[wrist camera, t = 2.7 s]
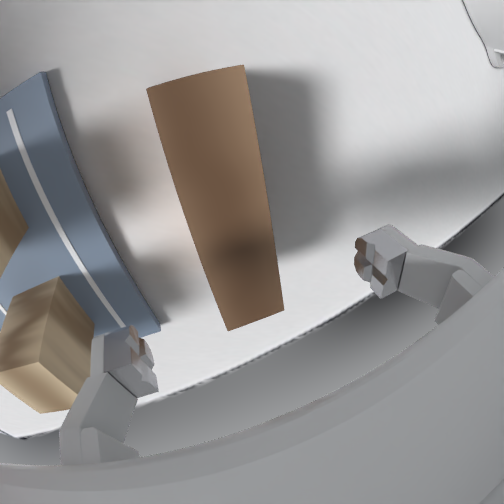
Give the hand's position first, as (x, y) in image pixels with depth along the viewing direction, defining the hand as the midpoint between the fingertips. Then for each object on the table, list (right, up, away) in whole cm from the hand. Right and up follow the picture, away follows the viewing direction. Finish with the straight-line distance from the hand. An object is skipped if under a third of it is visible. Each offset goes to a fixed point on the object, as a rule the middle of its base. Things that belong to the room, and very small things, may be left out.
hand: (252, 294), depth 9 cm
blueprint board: (-16, +1, +5) cm, 17 cm away
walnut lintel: (-3, +6, +8) cm, 10 cm away
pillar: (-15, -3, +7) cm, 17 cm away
